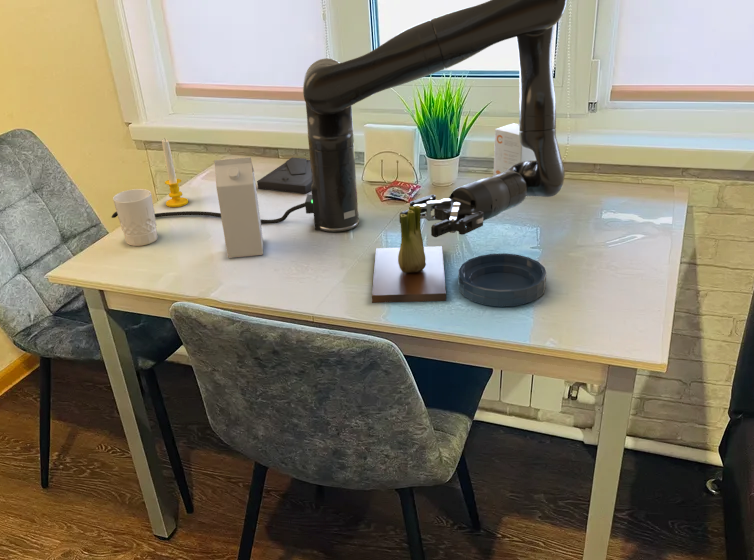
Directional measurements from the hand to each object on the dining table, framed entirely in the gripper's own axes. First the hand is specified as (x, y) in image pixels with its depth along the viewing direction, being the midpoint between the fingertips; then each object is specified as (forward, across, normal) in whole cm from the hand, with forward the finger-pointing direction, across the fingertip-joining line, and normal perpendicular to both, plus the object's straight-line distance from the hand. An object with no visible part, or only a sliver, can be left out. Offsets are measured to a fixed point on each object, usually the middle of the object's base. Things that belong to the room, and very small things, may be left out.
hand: (416, 225), depth 141 cm
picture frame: (-16, -61, +10) cm, 64 cm away
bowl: (-7, +14, +10) cm, 19 cm away
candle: (+14, -69, +10) cm, 71 cm away
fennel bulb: (+1, 0, +9) cm, 9 cm away
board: (+1, -1, +10) cm, 10 cm away
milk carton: (+17, -34, +10) cm, 39 cm away
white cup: (+30, -55, +10) cm, 64 cm away
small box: (-48, -19, +10) cm, 52 cm away
